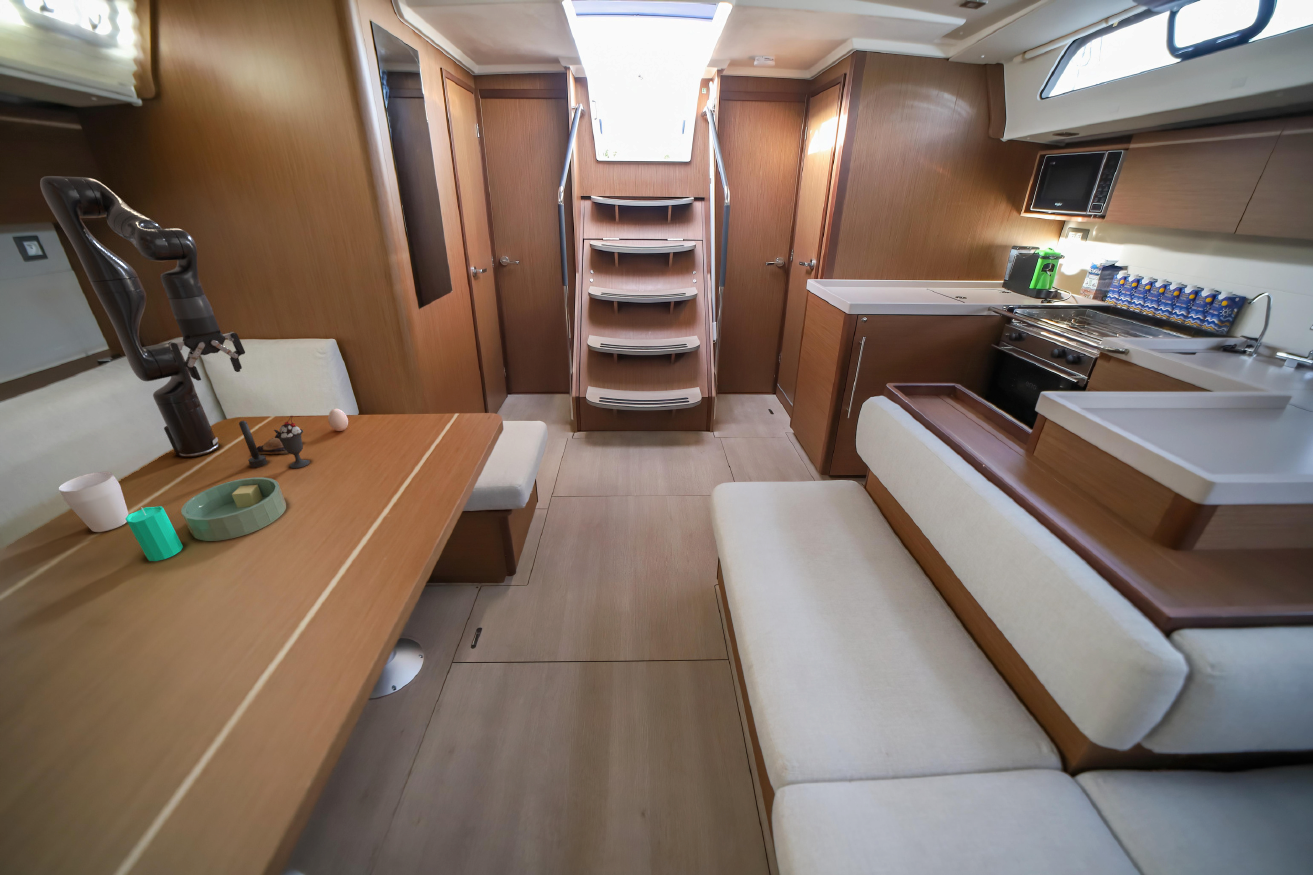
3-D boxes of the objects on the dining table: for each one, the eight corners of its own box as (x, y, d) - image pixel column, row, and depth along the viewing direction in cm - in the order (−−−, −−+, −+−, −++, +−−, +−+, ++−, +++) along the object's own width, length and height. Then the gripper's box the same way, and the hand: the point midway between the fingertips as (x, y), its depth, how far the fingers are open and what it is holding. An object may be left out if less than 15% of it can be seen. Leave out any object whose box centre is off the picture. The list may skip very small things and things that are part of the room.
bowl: (171, 545, 113) (160, 523, 110) (221, 500, 130) (212, 480, 127) (262, 536, 116) (253, 515, 113) (299, 493, 133) (292, 474, 130)
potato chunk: (237, 507, 126) (231, 494, 124) (245, 499, 129) (240, 486, 127) (255, 506, 126) (249, 492, 125) (263, 497, 130) (257, 484, 128)
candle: (189, 547, 113) (167, 502, 107) (158, 563, 107) (133, 517, 102) (171, 541, 114) (149, 497, 109) (140, 557, 109) (114, 512, 104)
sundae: (318, 459, 150) (303, 413, 143) (302, 470, 144) (285, 423, 137) (298, 458, 150) (282, 412, 144) (280, 469, 144) (263, 422, 138)
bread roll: (304, 442, 160) (301, 432, 158) (287, 454, 152) (283, 444, 151) (270, 442, 160) (266, 432, 158) (252, 454, 152) (247, 444, 150)
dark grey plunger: (247, 468, 145) (229, 424, 139) (255, 461, 148) (238, 418, 142) (262, 467, 145) (245, 423, 139) (270, 460, 149) (253, 417, 143)
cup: (144, 518, 122) (121, 476, 117) (95, 539, 115) (68, 495, 109) (125, 509, 125) (102, 468, 120) (76, 529, 118) (50, 486, 113)
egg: (348, 433, 166) (341, 411, 163) (329, 435, 165) (322, 413, 161) (352, 426, 171) (346, 405, 167) (334, 428, 170) (327, 406, 166)
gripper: (222, 307, 133) (244, 366, 140) (152, 317, 122) (179, 380, 130) (233, 311, 129) (255, 371, 136) (161, 321, 119) (189, 386, 126)
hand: (218, 375), depth 133 cm, fingers open, 8 cm apart
